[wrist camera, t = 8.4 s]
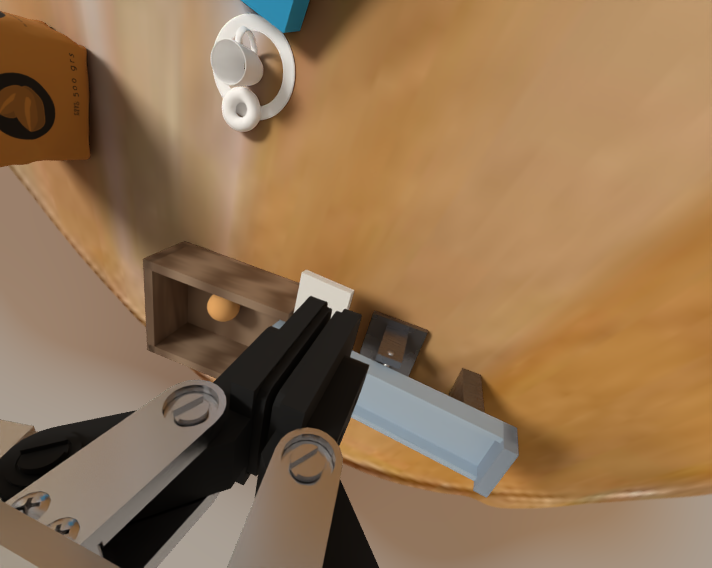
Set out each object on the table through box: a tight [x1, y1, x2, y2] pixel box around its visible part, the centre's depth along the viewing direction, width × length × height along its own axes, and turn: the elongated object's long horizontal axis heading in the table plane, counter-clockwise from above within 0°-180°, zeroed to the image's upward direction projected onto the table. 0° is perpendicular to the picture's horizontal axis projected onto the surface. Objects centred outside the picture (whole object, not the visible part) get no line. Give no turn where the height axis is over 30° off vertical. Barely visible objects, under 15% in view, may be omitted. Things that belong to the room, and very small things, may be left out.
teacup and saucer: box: [211, 14, 295, 132], centre depth 29 cm, size 9×8×4 cm
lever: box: [273, 270, 519, 497], centre depth 31 cm, size 24×12×3 cm, turn 75°
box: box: [143, 241, 300, 379], centre depth 39 cm, size 16×12×6 cm
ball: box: [207, 294, 240, 322], centre depth 39 cm, size 4×4×4 cm
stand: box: [360, 311, 485, 413], centre depth 36 cm, size 13×10×6 cm
